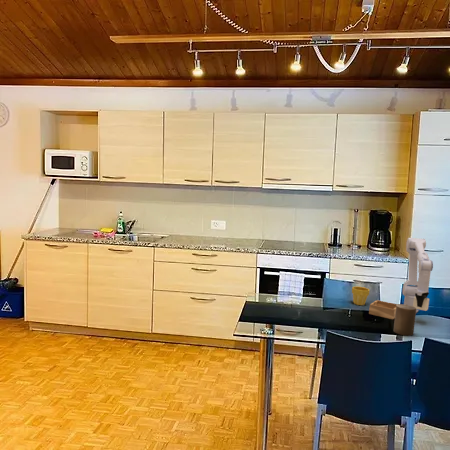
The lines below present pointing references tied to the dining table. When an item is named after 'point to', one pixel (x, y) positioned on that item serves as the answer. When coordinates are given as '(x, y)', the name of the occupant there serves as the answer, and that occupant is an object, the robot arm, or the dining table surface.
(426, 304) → the small crate
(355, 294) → the plant pot
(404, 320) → the pillar candle
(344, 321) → the dining table surface
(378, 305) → the big crate
